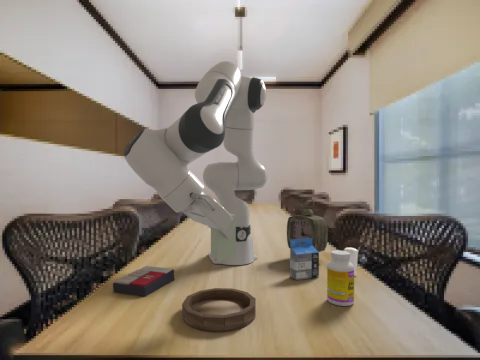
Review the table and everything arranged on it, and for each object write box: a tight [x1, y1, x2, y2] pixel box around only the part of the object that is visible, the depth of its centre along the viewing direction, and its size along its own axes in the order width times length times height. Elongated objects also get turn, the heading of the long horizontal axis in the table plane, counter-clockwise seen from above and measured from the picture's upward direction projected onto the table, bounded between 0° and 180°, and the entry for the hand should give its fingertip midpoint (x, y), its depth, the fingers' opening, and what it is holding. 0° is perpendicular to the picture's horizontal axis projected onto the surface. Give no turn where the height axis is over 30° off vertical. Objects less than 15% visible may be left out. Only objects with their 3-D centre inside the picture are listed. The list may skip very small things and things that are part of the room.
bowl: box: [181, 287, 257, 333], centre depth 69 cm, size 17×17×3 cm
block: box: [210, 214, 236, 260], centre depth 69 cm, size 4×4×10 cm
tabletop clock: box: [286, 197, 329, 253], centre depth 118 cm, size 14×9×25 cm, turn 38°
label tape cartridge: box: [289, 238, 320, 281], centre depth 96 cm, size 9×4×12 cm, turn 112°
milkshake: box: [343, 245, 361, 277], centre depth 98 cm, size 5×5×10 cm
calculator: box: [112, 265, 175, 298], centre depth 88 cm, size 11×4×15 cm
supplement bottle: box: [326, 249, 355, 307], centre depth 76 cm, size 7×7×13 cm
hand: (225, 233), depth 70 cm, fingers closed on block, 4 cm apart
